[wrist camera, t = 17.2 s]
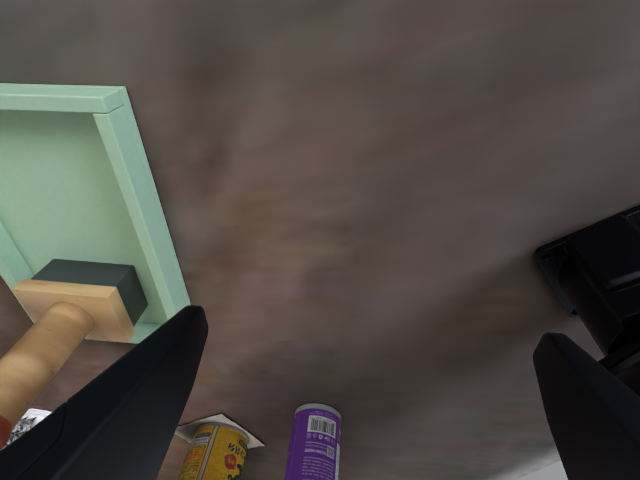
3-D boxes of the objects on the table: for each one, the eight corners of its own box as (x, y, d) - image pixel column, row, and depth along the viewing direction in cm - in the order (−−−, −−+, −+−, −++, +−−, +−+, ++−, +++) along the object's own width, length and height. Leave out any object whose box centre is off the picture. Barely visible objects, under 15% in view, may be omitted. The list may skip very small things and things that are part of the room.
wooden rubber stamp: (49, 255, 25) (-162, 438, 15) (135, 262, 25) (-22, 456, 15) (73, 299, 28) (-94, 481, 18) (152, 306, 27) (27, 497, 17)
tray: (-86, 80, 19) (-129, 90, 18) (125, 86, 18) (101, 96, 17) (60, 315, 30) (42, 335, 29) (197, 327, 29) (187, 348, 28)
